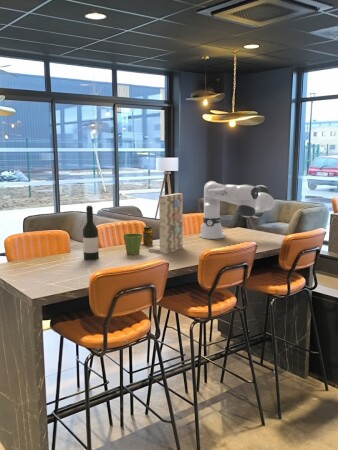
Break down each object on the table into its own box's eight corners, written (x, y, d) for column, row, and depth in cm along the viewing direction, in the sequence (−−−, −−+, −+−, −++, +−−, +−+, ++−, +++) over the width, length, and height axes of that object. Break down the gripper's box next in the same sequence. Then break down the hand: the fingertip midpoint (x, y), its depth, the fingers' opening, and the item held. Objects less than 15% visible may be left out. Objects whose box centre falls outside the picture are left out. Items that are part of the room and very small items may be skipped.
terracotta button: (171, 219, 266) (171, 212, 265) (179, 220, 263) (179, 212, 262) (167, 220, 262) (167, 212, 261) (176, 220, 259) (176, 213, 258)
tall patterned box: (166, 245, 280) (166, 192, 274) (182, 247, 273) (182, 193, 268) (148, 251, 263) (147, 195, 258) (165, 254, 257) (165, 196, 251)
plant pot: (143, 255, 252) (142, 236, 251) (122, 256, 252) (122, 237, 250) (143, 251, 264) (143, 233, 262) (123, 251, 263) (123, 233, 262)
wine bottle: (80, 258, 246) (78, 205, 241) (92, 256, 252) (90, 204, 248) (90, 261, 241) (88, 207, 236) (101, 258, 247) (100, 205, 242)
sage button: (171, 232, 267) (171, 225, 266) (179, 233, 264) (179, 225, 263) (167, 233, 263) (167, 226, 263) (176, 234, 260) (176, 226, 259)
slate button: (171, 206, 264) (171, 198, 264) (179, 206, 261) (179, 199, 261) (167, 206, 261) (167, 199, 260) (176, 207, 258) (175, 200, 257)
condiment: (155, 245, 281) (155, 227, 279) (143, 247, 276) (143, 228, 274) (149, 243, 287) (149, 225, 285) (138, 245, 282) (137, 226, 280)
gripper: (221, 199, 244) (200, 198, 251) (236, 196, 261) (215, 195, 269) (222, 187, 243) (200, 187, 250) (236, 185, 260) (215, 184, 268)
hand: (208, 191), depth 260 cm, fingers closed
